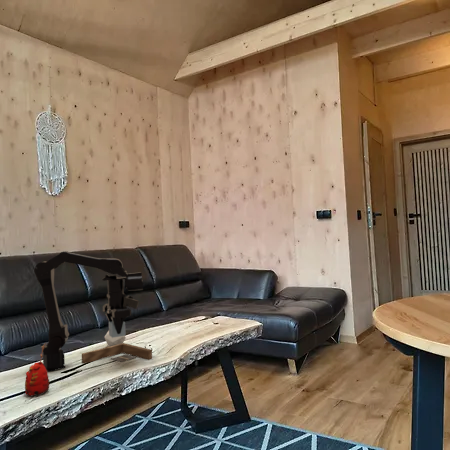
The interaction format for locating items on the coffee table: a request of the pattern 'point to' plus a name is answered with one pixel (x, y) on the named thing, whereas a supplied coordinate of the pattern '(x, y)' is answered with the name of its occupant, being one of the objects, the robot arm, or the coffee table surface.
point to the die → (114, 340)
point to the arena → (117, 350)
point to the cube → (114, 333)
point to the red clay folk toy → (37, 379)
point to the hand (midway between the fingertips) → (117, 332)
